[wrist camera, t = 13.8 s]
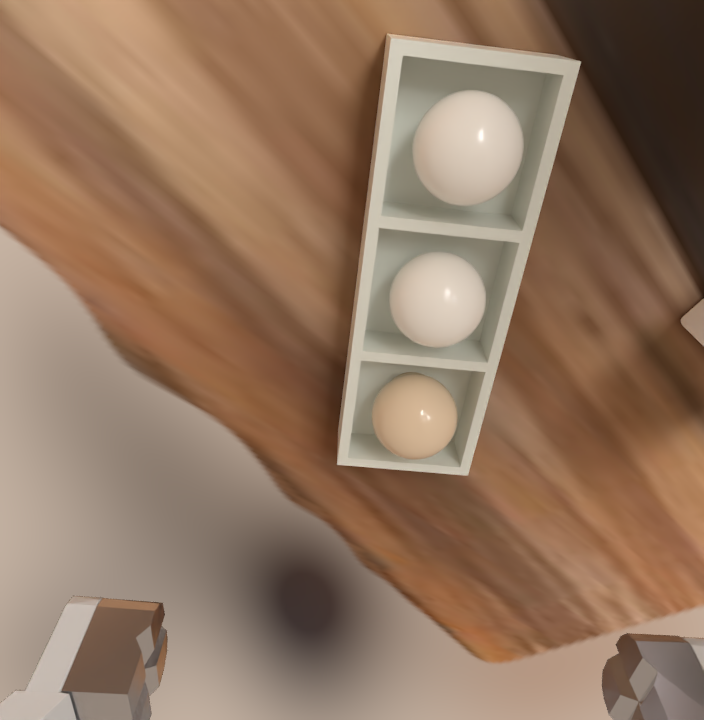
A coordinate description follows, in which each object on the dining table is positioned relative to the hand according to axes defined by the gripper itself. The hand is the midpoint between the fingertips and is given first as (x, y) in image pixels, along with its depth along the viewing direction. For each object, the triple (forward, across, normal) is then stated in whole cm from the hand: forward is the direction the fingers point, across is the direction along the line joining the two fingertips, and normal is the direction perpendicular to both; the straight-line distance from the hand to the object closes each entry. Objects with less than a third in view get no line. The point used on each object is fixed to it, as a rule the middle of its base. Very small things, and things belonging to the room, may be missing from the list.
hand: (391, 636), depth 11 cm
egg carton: (+26, -4, +4) cm, 26 cm away
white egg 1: (+25, -4, -4) cm, 25 cm away
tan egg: (+24, -4, +12) cm, 27 cm away
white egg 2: (+24, -4, +4) cm, 25 cm away
